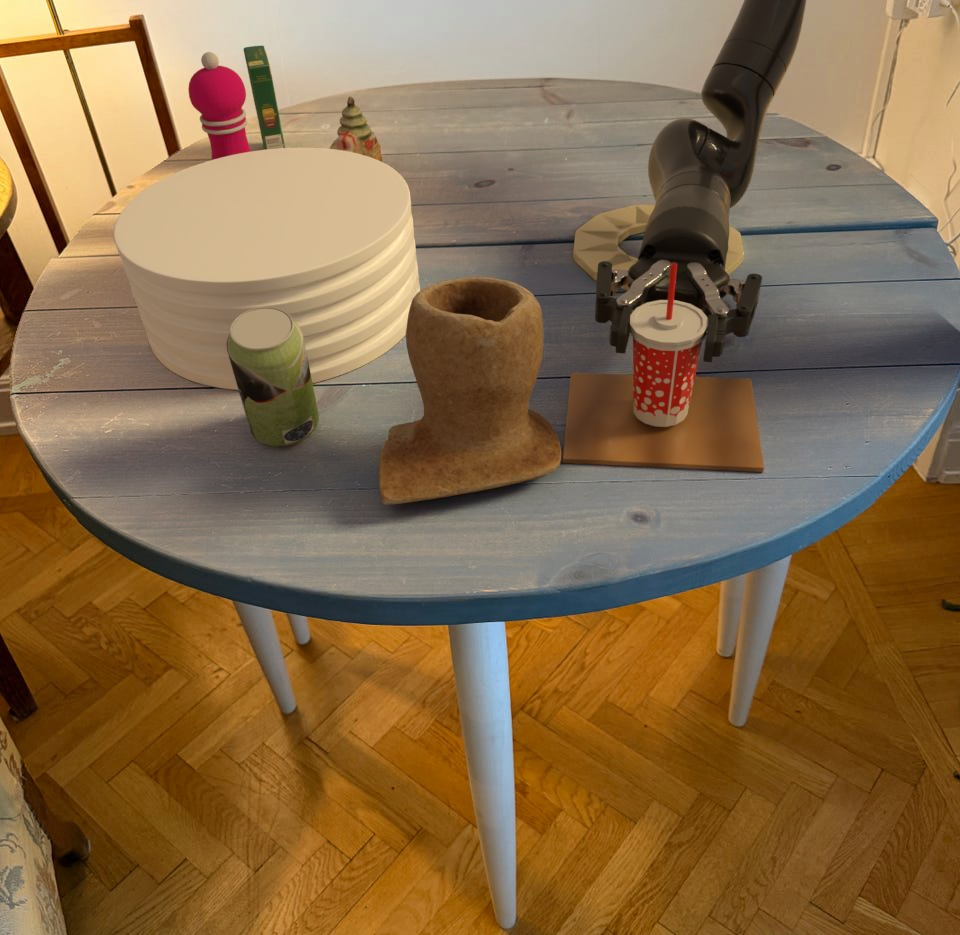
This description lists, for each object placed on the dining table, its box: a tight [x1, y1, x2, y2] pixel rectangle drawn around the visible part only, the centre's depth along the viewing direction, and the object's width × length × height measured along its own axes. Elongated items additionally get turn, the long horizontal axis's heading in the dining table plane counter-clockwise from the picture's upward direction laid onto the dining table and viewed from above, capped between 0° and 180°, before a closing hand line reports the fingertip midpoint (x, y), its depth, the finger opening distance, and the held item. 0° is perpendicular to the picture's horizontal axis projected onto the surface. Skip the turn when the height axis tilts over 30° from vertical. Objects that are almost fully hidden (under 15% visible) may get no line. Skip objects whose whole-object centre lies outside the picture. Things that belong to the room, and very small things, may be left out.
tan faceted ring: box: [572, 204, 745, 291], centre depth 101 cm, size 18×18×1 cm
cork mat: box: [562, 372, 765, 473], centre depth 79 cm, size 16×12×1 cm
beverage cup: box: [630, 262, 708, 427], centre depth 74 cm, size 6×6×14 cm
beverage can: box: [226, 307, 320, 447], centre depth 77 cm, size 6×7×12 cm
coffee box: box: [243, 45, 286, 150], centre depth 123 cm, size 8×3×13 cm, turn 15°
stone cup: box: [378, 276, 562, 506], centre depth 72 cm, size 15×12×15 cm
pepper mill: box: [188, 51, 253, 160], centre depth 104 cm, size 7×7×20 cm
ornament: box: [329, 95, 384, 163], centre depth 117 cm, size 8×6×10 cm
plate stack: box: [113, 147, 421, 391], centre depth 93 cm, size 28×28×12 cm
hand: (664, 348), depth 72 cm, fingers closed on beverage cup, 6 cm apart
